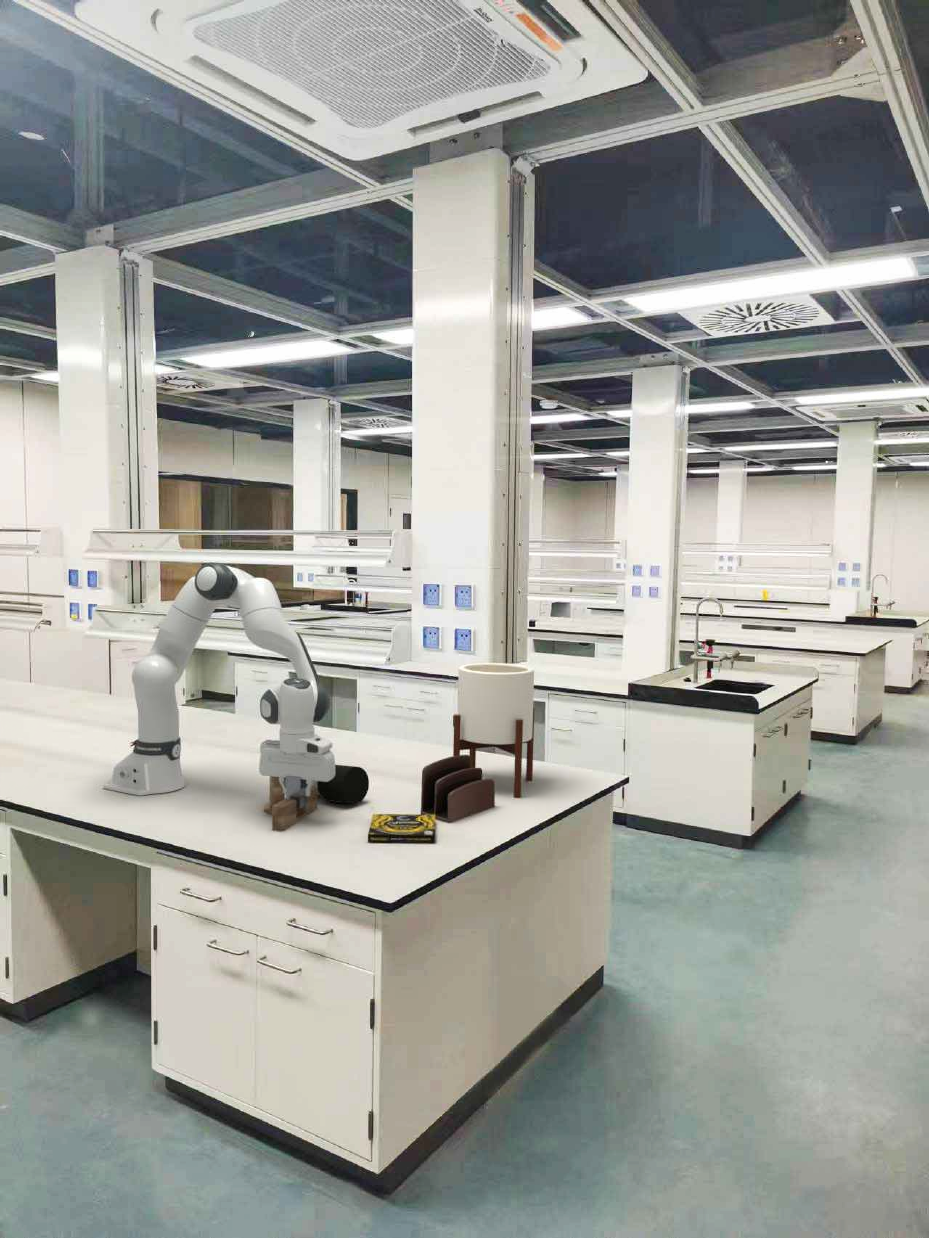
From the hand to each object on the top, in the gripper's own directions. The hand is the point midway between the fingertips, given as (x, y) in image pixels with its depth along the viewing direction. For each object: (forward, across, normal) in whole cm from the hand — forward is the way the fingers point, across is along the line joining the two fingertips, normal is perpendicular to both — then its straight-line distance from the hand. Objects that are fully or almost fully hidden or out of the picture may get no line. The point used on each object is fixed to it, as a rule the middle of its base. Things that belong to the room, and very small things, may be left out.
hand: (296, 794), depth 217 cm
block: (+3, 0, 0) cm, 3 cm away
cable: (+7, -5, +21) cm, 23 cm away
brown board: (+6, 0, 0) cm, 6 cm away
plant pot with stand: (+7, +41, +48) cm, 63 cm away
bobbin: (+6, -8, +5) cm, 11 cm away
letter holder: (+7, +38, +20) cm, 43 cm away
